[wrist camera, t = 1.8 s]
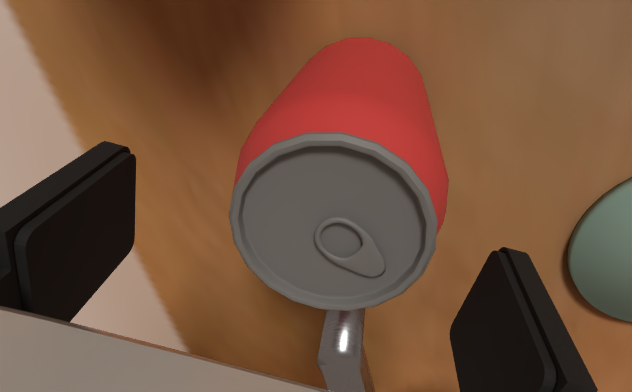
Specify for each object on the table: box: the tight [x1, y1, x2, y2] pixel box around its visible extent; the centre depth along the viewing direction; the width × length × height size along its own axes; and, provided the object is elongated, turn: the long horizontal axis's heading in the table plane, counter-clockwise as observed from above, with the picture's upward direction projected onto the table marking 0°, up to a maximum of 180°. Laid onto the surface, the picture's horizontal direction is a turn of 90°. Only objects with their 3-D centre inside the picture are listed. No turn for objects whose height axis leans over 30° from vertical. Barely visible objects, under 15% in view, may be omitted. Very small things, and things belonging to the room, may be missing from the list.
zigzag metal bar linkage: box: [317, 308, 375, 392], centre depth 24 cm, size 17×13×9 cm
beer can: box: [229, 38, 449, 311], centre depth 17 cm, size 7×7×12 cm
